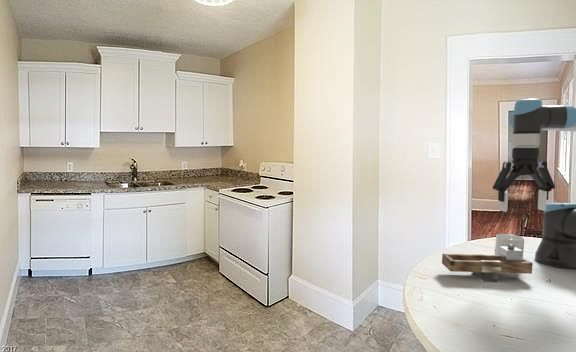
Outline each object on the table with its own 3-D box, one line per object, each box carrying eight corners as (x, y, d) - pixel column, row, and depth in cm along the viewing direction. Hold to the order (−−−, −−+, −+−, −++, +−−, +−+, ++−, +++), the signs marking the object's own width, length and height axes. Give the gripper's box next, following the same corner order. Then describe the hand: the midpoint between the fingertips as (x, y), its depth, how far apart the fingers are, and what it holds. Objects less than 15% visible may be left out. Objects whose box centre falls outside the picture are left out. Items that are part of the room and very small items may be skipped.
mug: (517, 272, 131) (520, 241, 130) (490, 265, 137) (492, 236, 136) (527, 264, 139) (529, 235, 138) (501, 259, 146) (503, 231, 144)
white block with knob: (513, 261, 127) (515, 243, 127) (521, 265, 123) (522, 247, 122) (498, 260, 127) (500, 243, 127) (505, 264, 123) (507, 246, 122)
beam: (516, 273, 130) (517, 254, 129) (532, 283, 121) (533, 263, 120) (441, 271, 131) (441, 252, 130) (450, 280, 122) (451, 261, 122)
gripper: (552, 146, 127) (548, 207, 129) (482, 147, 125) (480, 209, 127) (570, 146, 119) (566, 211, 121) (496, 147, 117) (494, 213, 119)
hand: (522, 210), depth 124 cm, fingers open, 13 cm apart
